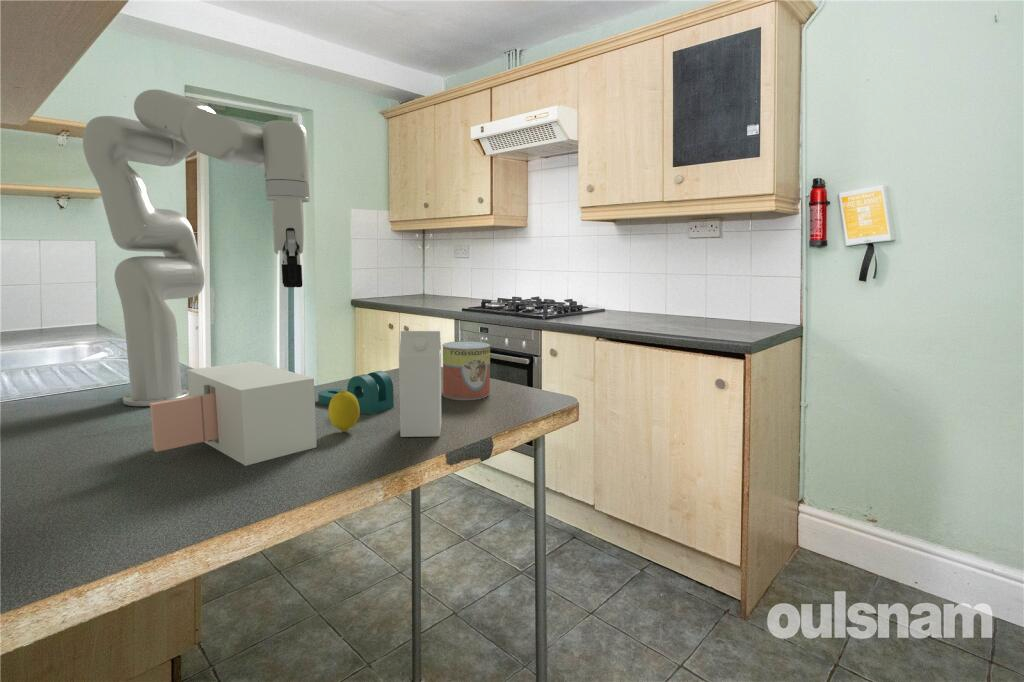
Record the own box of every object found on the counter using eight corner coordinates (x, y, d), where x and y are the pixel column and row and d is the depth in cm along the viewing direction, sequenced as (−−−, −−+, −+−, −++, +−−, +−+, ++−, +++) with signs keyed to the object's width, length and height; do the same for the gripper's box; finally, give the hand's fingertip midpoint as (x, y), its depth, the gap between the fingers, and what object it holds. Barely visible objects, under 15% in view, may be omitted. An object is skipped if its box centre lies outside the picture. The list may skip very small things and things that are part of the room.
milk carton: (404, 426, 109) (402, 328, 106) (441, 425, 110) (440, 328, 107) (400, 437, 102) (398, 333, 99) (439, 437, 103) (439, 333, 100)
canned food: (454, 402, 127) (454, 350, 126) (435, 391, 137) (435, 343, 135) (498, 396, 133) (499, 346, 131) (477, 387, 143) (477, 340, 141)
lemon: (332, 438, 101) (330, 394, 100) (326, 429, 106) (325, 388, 105) (363, 434, 104) (362, 391, 103) (356, 426, 109) (355, 385, 108)
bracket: (393, 408, 123) (392, 372, 122) (371, 415, 117) (370, 378, 116) (335, 396, 132) (334, 363, 131) (311, 403, 126) (310, 368, 125)
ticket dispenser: (240, 467, 87) (235, 391, 85) (187, 436, 102) (182, 370, 100) (316, 447, 97) (313, 378, 95) (258, 421, 111) (254, 361, 109)
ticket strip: (156, 451, 88) (152, 404, 86) (153, 450, 88) (149, 403, 87) (270, 427, 101) (268, 385, 100) (267, 425, 102) (264, 384, 101)
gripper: (266, 196, 111) (270, 284, 113) (265, 186, 95) (270, 288, 98) (306, 198, 114) (310, 283, 116) (312, 188, 98) (316, 288, 100)
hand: (292, 285), depth 107 cm, fingers open, 9 cm apart
